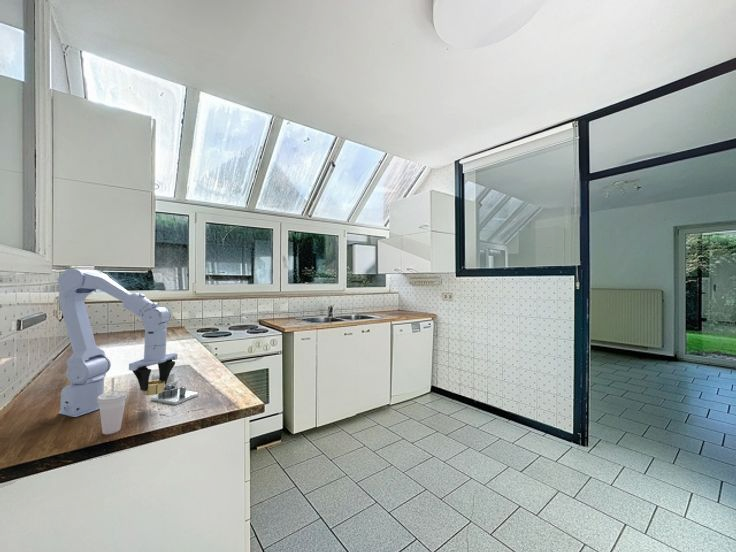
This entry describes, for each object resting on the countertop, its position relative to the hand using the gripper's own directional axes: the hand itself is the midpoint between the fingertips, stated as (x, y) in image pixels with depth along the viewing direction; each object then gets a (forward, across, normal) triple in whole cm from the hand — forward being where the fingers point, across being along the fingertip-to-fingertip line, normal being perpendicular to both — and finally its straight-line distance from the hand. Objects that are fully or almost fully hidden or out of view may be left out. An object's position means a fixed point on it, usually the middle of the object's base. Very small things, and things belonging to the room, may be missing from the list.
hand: (153, 387), depth 97 cm
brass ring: (+2, 0, 0) cm, 2 cm away
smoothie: (+7, -14, -4) cm, 16 cm away
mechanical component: (+7, +17, +18) cm, 26 cm away
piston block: (+7, +9, +1) cm, 11 cm away
